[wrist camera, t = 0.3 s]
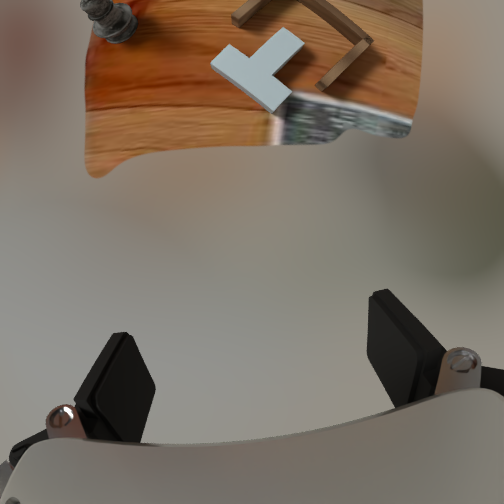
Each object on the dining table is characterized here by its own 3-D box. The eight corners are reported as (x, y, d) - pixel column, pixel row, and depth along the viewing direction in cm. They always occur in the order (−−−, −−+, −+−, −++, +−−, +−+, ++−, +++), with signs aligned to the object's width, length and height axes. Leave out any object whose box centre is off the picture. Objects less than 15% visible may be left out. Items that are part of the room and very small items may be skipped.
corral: (321, 91, 33) (327, 86, 30) (231, 23, 30) (231, 14, 27) (365, 47, 31) (374, 40, 28) (282, -17, 27) (284, -27, 24)
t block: (271, 114, 34) (273, 111, 32) (212, 68, 32) (210, 63, 29) (319, 64, 32) (324, 59, 30) (261, 21, 30) (263, 13, 27)
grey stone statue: (110, 13, 27) (75, -20, 16) (145, 12, 28) (115, -27, 17) (97, 45, 29) (55, 19, 18) (132, 45, 30) (95, 13, 18)
